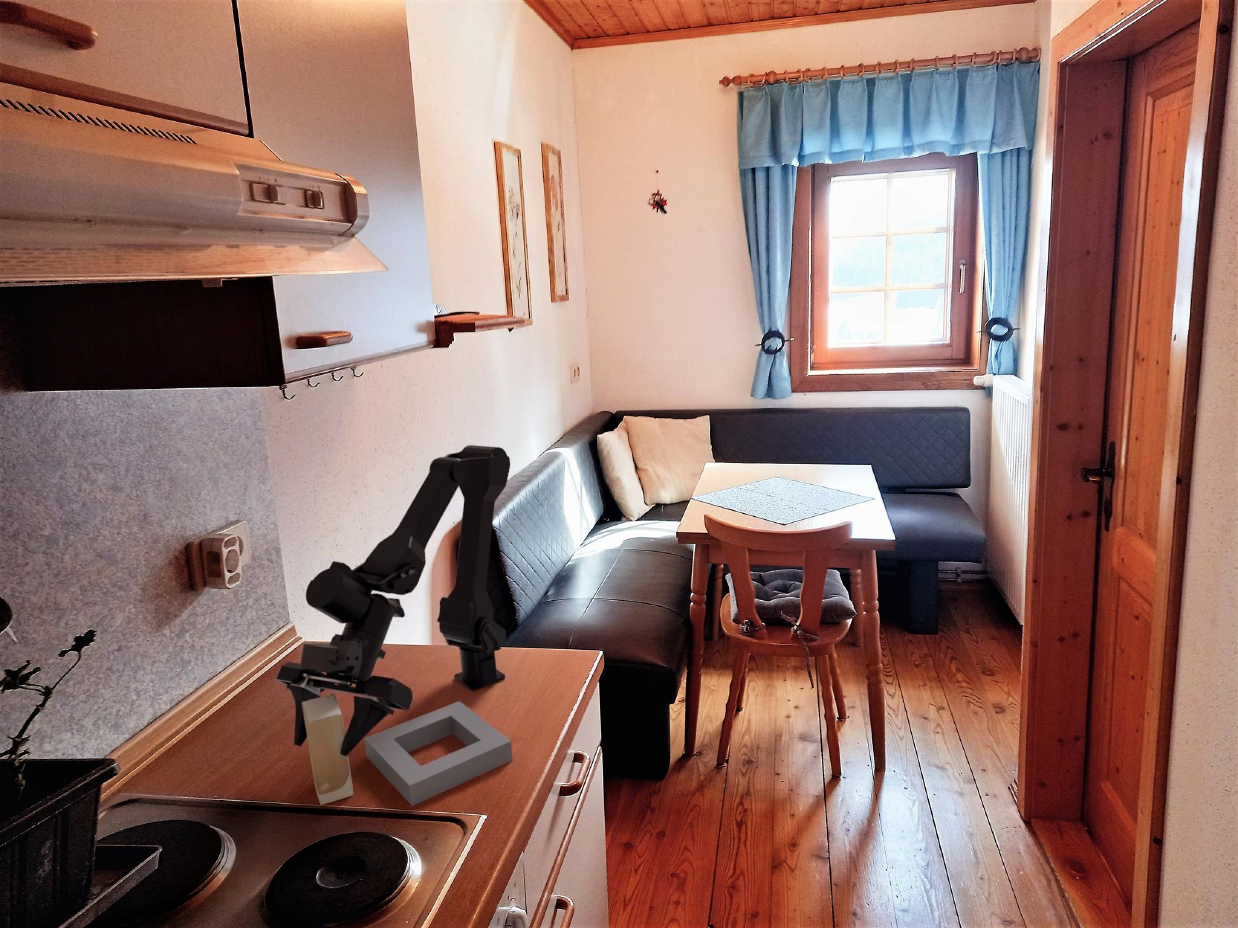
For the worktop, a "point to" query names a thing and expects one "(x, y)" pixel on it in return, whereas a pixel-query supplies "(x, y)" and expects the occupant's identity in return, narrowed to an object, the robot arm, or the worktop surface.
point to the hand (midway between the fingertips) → (319, 750)
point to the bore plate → (447, 771)
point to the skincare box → (327, 748)
